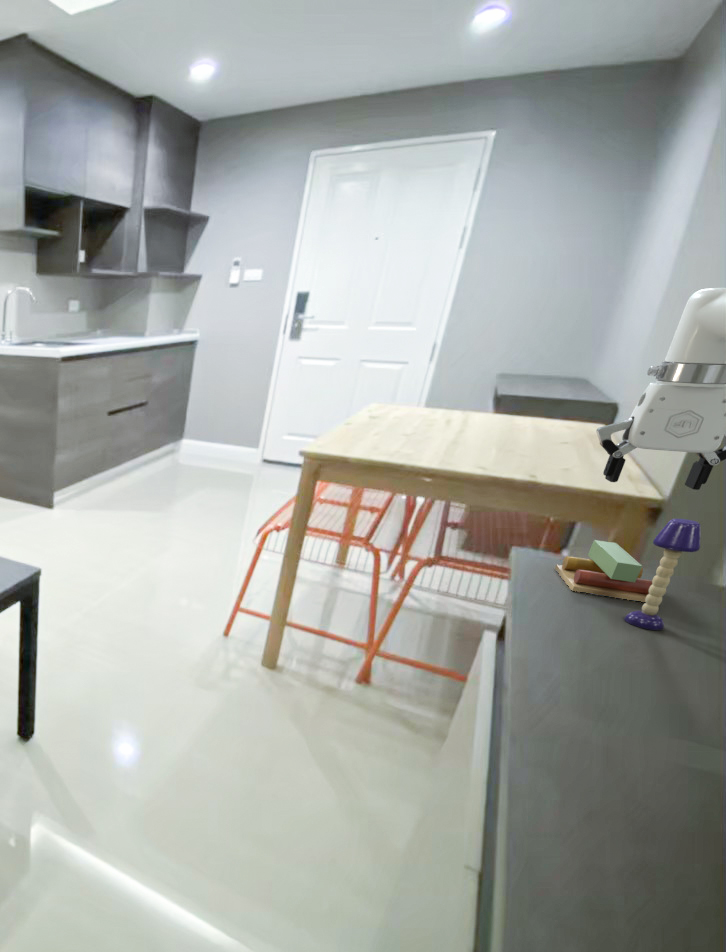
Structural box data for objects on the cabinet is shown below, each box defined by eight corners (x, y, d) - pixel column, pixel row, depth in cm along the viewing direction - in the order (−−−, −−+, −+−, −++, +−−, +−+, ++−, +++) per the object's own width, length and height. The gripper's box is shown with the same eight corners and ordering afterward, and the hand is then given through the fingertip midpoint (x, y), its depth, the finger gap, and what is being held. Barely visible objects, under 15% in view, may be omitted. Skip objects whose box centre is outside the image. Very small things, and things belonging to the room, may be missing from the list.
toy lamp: (617, 621, 94) (663, 520, 88) (620, 612, 97) (664, 514, 91) (661, 633, 91) (712, 529, 84) (663, 623, 94) (712, 521, 87)
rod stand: (633, 581, 108) (641, 563, 107) (659, 605, 99) (668, 586, 98) (554, 569, 113) (560, 552, 112) (571, 591, 104) (579, 573, 103)
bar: (587, 555, 111) (593, 539, 109) (609, 558, 109) (616, 542, 108) (610, 578, 101) (618, 562, 100) (635, 582, 99) (642, 566, 98)
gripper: (627, 375, 93) (587, 482, 100) (792, 380, 86) (738, 496, 92) (610, 371, 100) (573, 473, 106) (762, 376, 92) (713, 485, 98)
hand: (650, 484), depth 99 cm, fingers open, 9 cm apart
